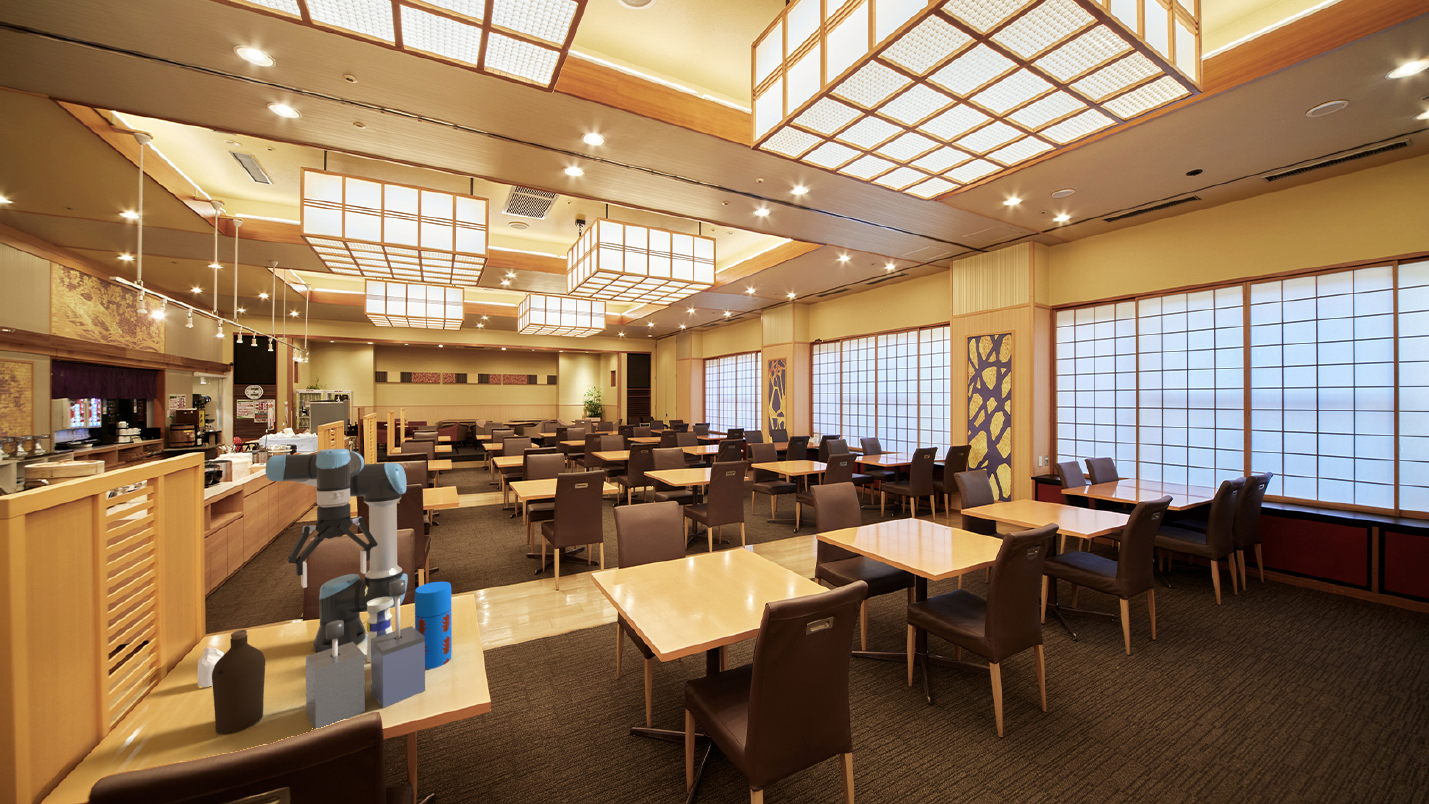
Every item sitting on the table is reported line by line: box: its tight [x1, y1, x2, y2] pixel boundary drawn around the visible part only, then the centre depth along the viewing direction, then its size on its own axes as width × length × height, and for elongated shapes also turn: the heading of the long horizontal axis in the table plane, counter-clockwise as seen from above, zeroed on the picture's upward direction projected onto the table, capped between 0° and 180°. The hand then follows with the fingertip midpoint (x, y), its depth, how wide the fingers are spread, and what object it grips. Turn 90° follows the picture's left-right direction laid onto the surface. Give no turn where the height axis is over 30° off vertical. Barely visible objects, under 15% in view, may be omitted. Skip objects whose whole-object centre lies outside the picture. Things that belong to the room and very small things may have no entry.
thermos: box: [414, 581, 453, 670], centre depth 168 cm, size 11×11×25 cm
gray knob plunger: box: [389, 580, 406, 640], centre depth 150 cm, size 8×8×20 cm
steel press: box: [305, 642, 366, 730], centre depth 141 cm, size 15×11×16 cm
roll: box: [196, 646, 225, 687], centre depth 155 cm, size 6×12×6 cm
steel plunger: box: [326, 620, 344, 658], centre depth 140 cm, size 8×8×20 cm
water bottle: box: [365, 586, 394, 664], centre depth 171 cm, size 8×9×25 cm
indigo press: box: [370, 625, 426, 709], centre depth 151 cm, size 15×11×16 cm
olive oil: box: [212, 629, 266, 735], centre depth 136 cm, size 11×11×25 cm
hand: (334, 579), depth 140 cm, fingers open, 13 cm apart
